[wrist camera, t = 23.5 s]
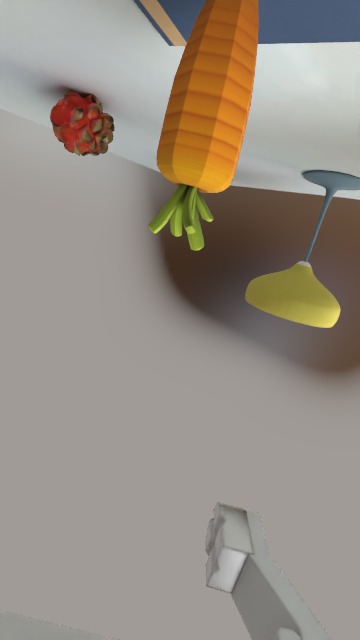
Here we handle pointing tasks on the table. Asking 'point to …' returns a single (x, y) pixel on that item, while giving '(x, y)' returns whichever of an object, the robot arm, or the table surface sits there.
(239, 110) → the carrot
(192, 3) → the napkin
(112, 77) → the table surface
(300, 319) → the cocktail glass
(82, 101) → the dragon fruit
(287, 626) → the robot arm
